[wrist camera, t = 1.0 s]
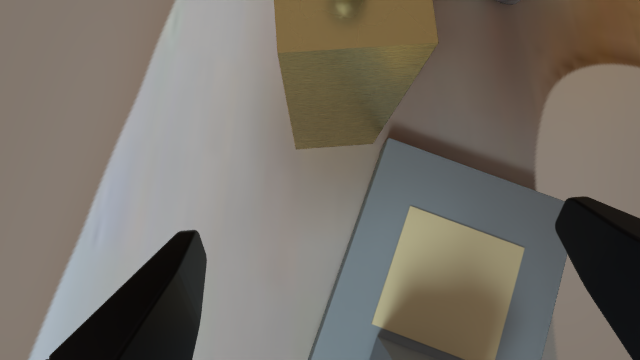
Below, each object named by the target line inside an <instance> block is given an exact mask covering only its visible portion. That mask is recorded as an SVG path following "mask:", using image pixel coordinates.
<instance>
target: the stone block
mask: <svg viewBox="0 0 640 360" xmlns="http://www.w3.org/2000/svg"><path fill="white" fill-rule="evenodd" d="M496 1H498V2H501V3H506V4H516V3H517V2H519V1H520V0H496Z"/></svg>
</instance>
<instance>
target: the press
mask: <svg viewBox="0 0 640 360" xmlns="http://www.w3.org/2000/svg"><path fill="white" fill-rule="evenodd" d="M564 202H565V201H562V200H559V199H556V198H554V197H551V196H548V195H545V194H543V193H540V192H537V191H535V190H532V189H529V188H526V187H523V186H521V185H518V184H515V183H512V182H510V181H507V180H504V179H501V178H499V177H496V176H493V175H490V174H488V173H485V172H482V171H479V170H477V169H474V168H471V167H468V166H465V165H463V164H460V163H457V162H454V161H452V160H449V159H446V158H443V157H441V156H438V155H435V154H432V153H430V152H427V151H424V150H421V149H418V148H416V147H413V146H410V145H407V144H405V143H402V142H399V141H396V140H394V139H391V138H388V139H387V140H386V142H385V143H384V144H383V147H382V150H381V153H380V156H379V159H378V162H377V164H376V167H375V170H374V173H373V176H372V179H371V182H370V184H369V187H368V190H367V193H366V196H365V199H364V202H363V204H362V207H361V210H360V213H359V216H358V219H357V221H356V224H355V227H354V230H353V233H352V236H351V239H350V241H349V244H348V247H347V250H346V253H345V256H344V259H343V261H342V264H341V267H340V270H339V273H338V276H337V279H336V281H335V284H334V287H333V290H332V293H331V296H330V299H329V301H328V304H327V307H326V310H325V313H324V316H323V318H322V321H321V324H320V327H319V330H318V333H317V336H316V338H315V341H314V344H313V347H312V350H311V353H310V356H309V358H308V360H541V359H542V355H543V351H544V347H545V343H546V339H547V335H548V331H549V326H550V322H551V318H552V314H553V310H554V306H555V302H556V298H557V294H558V290H559V286H560V282H561V278H562V273H563V270H564V266H565V261H566V257H567V252H566V250H565V248H564V246H563V244H562V243H561V241H560V239H559V237H558V235H557V233H556V230H555V222H556V219H557V217H558V215H559V213H560V211H561V209H562V206H563V204H564Z"/></svg>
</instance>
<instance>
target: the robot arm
mask: <svg viewBox="0 0 640 360" xmlns="http://www.w3.org/2000/svg"><path fill="white" fill-rule="evenodd" d="M555 230H556V233H557V235H558V237H559V239H560V241H561V243H562V244H563V246H564V248H565V250H566V252H567V254H568V256H569V258H570V260H571V262H572V263H573V265H574V267H575V269H576V271H577V273H578V275H579V277H580V279H581V280H582V282H583V284H584V286H585V287H586V289H587V291H588V292H589V294H590V295H591V297H592V299H593V300H594V302H595V303H596V305H597V306H598V308H599V309H600V311H601V312H602V314H603V315H604V317H605V318H606V320H607V321H608V323H609V324H610V326H611V327H612V329H613V330H614V332H615V333H616V335H617V336H618V338H619V339H620V341H621V343H622V344H623V345H624V347H625V349H626V350H627V352H628V353H629V355H630V356H631V358H632V359H633V360H640V218H637V217H635V216H632V215H630V214H628V213H625V212H623V211H620V210H618V209H615V208H613V207H611V206H608V205H606V204H603V203H601V202H599V201H596V200H594V199H591V198H589V197H572V198H568V199H567V200H566V201H565V202H564V204H563V206H562V209H561V211H560V213H559V215H558V217H557V219H556V222H555ZM206 264H207V258H206V253H205V250H204V247H203V244H202V241H201V238H200V235H199V233H198V232H197V231H196V230H187V231H180V232H178V233H177V234H175V235H174V236H173V237H172V238H171V239H170V240H169V241H168V242H167V243H166V244H165V245H164V246H163V247H162V248H161V249H160V250H159V251H158V252H157V253H156V254H155V255H154V256H153V257H152V258H151V259H150V260H148V261H147V262H146V263H145V264H144V265H143V266H142V267H141V268H140V269H139V270H138V271H137V272H136V273H135V274H134V275H133V276H132V277H131V278H130V279H129V280H128V281H127V282H126V283H125V284H124V285H123V286H121V287H120V288H119V289H118V290H117V291H116V292H115V293H114V294H113V295H112V296H111V297H110V298H109V299H108V300H107V301H106V302H105V303H104V304H103V305H102V306H101V307H100V308H99V309H98V310H97V311H95V312H94V313H93V314H92V315H91V316H90V317H89V318H88V319H87V320H86V321H85V322H84V323H83V324H82V325H81V326H80V327H79V328H78V329H77V330H76V331H75V332H74V333H73V334H72V335H71V336H70V337H68V338H67V339H66V340H65V341H64V342H63V343H62V344H61V345H60V346H59V347H58V348H57V349H56V350H55V351H54V352H53V353H52V354H51V355H50V356H49V359H46V360H192V358H193V353H194V349H195V344H196V340H197V336H198V331H199V326H200V319H201V311H202V302H203V292H204V283H205V273H206Z"/></svg>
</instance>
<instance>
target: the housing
mask: <svg viewBox="0 0 640 360" xmlns="http://www.w3.org/2000/svg"><path fill="white" fill-rule="evenodd" d="M274 7H275V22H276V37H277V51H278V58H279V63H280V68H281V74H282V79H283V84H284V89H285V95H286V100H287V105H288V110H289V116H290V121H291V126H292V132H293V137H294V142H295V147H296V149H307V148H320V147H334V146H347V145H361V144H373V142H374V141H375V139H376V138H377V136H378V135H379V133H380V132H381V130H382V129H383V127H384V125H385V124H386V122H387V121H388V119H389V118H390V116H391V115H392V113H393V112H394V110H395V109H396V107H397V106H398V104H399V102H400V101H401V99H402V98H403V96H404V95H405V93H406V92H407V90H408V89H409V87H410V86H411V84H412V83H413V81H414V79H415V78H416V76H417V75H418V73H419V72H420V70H421V69H422V67H423V66H424V64H425V63H426V61H427V60H428V58H429V56H430V55H431V53H432V52H433V50H434V49H435V47H436V46H437V44H438V43H439V42H438V35H437V28H436V22H435V15H434V8H433V1H432V0H274Z"/></svg>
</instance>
